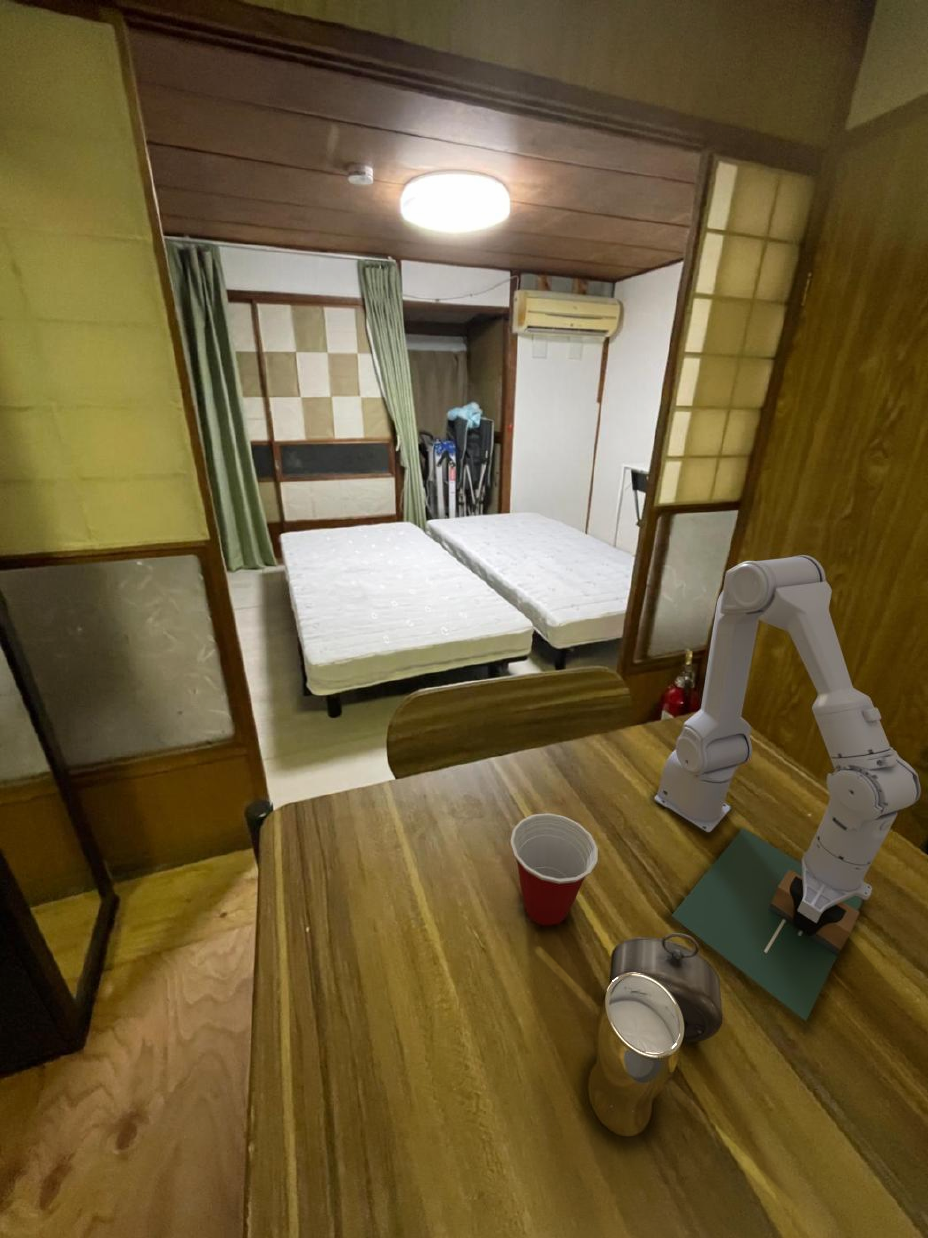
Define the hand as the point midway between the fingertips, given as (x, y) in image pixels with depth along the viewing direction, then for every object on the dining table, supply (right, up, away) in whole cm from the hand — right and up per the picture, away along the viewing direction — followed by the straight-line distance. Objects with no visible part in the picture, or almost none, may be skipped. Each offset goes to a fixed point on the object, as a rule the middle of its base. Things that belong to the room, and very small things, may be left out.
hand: (808, 918), depth 66 cm
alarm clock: (-24, -6, -10) cm, 27 cm away
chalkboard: (-4, 0, +2) cm, 5 cm away
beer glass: (-29, -9, -15) cm, 34 cm away
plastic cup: (-34, 0, +3) cm, 34 cm away
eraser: (0, -1, 0) cm, 1 cm away
